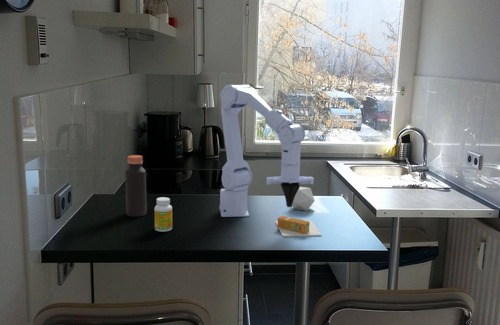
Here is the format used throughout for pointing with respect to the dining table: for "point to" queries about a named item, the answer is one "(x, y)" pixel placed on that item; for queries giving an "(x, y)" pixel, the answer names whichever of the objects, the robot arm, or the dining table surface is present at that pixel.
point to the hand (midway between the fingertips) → (289, 206)
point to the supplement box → (293, 224)
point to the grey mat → (312, 232)
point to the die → (303, 199)
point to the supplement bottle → (163, 215)
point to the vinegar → (135, 187)
